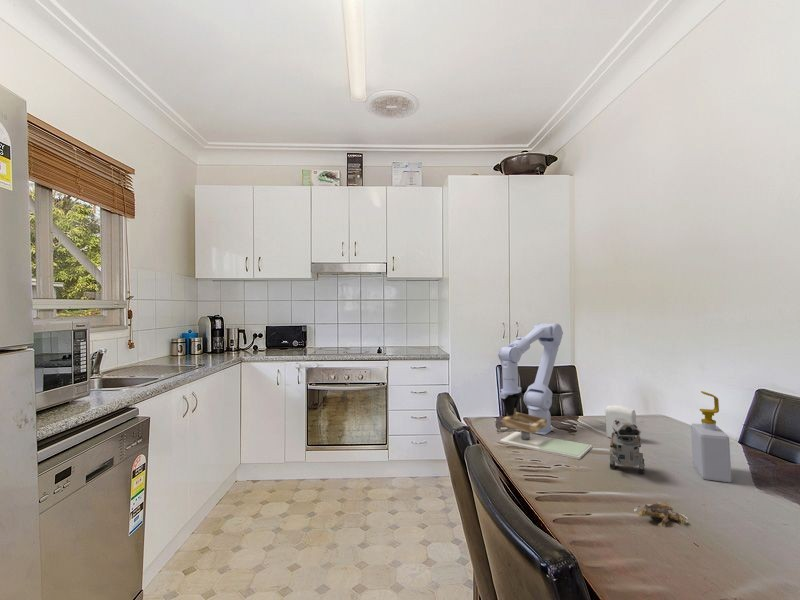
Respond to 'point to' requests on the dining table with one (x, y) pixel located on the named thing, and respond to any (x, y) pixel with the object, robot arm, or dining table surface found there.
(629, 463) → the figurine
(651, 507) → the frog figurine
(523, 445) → the board
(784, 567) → the dining table surface
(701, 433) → the soap bottle
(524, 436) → the peg
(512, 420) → the wooden square frame
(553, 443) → the mat
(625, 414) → the photo printer
